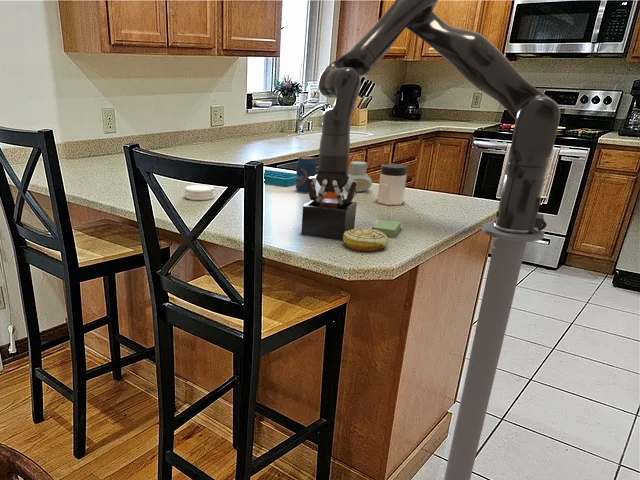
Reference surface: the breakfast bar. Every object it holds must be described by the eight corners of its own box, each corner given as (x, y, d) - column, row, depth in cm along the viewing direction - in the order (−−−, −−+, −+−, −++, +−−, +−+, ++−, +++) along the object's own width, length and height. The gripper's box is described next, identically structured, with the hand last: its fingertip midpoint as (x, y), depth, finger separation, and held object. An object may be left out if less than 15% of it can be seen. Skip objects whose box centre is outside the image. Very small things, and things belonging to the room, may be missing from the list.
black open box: (354, 230, 144) (356, 202, 141) (343, 240, 136) (346, 210, 133) (314, 224, 149) (315, 197, 146) (301, 234, 140) (302, 205, 137)
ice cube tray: (286, 187, 195) (287, 179, 194) (244, 180, 207) (244, 172, 206) (303, 182, 204) (303, 174, 203) (261, 176, 215) (261, 168, 214)
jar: (371, 201, 176) (375, 165, 171) (387, 198, 180) (391, 162, 175) (392, 206, 169) (397, 169, 164) (408, 203, 173) (414, 166, 168)
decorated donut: (393, 251, 128) (395, 236, 126) (352, 254, 126) (354, 239, 124) (375, 238, 137) (376, 225, 135) (336, 241, 135) (337, 227, 133)
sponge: (378, 226, 148) (379, 219, 148) (400, 228, 146) (401, 221, 145) (371, 234, 141) (372, 227, 140) (393, 237, 139) (394, 230, 138)
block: (340, 216, 142) (341, 199, 140) (335, 220, 138) (336, 203, 136) (323, 214, 144) (325, 198, 142) (318, 218, 140) (319, 201, 138)
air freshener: (367, 188, 195) (370, 160, 191) (373, 192, 188) (376, 164, 184) (338, 188, 195) (341, 160, 191) (343, 192, 187) (346, 164, 183)
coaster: (216, 200, 176) (216, 189, 175) (187, 201, 174) (187, 191, 173) (211, 193, 185) (210, 183, 184) (183, 195, 183) (182, 184, 182)
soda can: (291, 191, 190) (293, 157, 185) (304, 188, 194) (306, 155, 189) (306, 194, 185) (308, 159, 180) (318, 191, 189) (321, 157, 184)
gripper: (365, 152, 134) (359, 217, 141) (312, 148, 140) (308, 211, 147) (358, 156, 128) (351, 224, 135) (302, 152, 134) (299, 217, 141)
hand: (329, 217), depth 141 cm, fingers closed on block, 4 cm apart
